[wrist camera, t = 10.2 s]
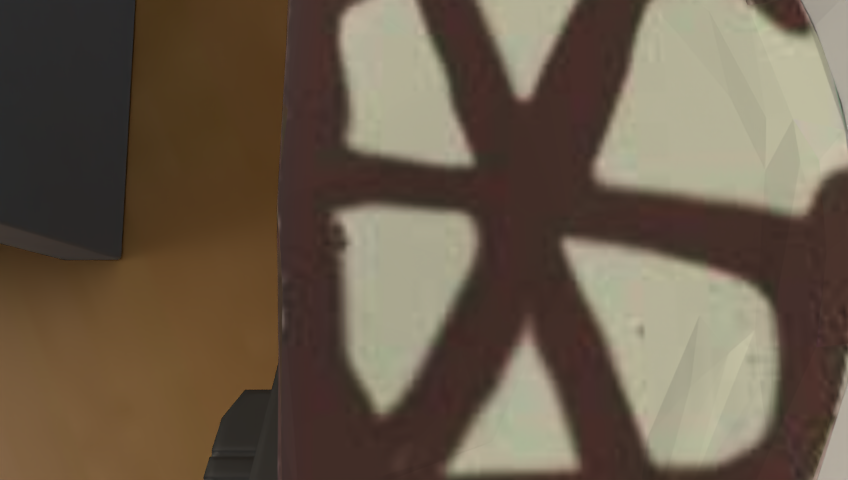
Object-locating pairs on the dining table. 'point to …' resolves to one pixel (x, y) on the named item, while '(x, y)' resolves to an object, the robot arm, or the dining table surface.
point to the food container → (564, 240)
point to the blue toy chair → (64, 125)
